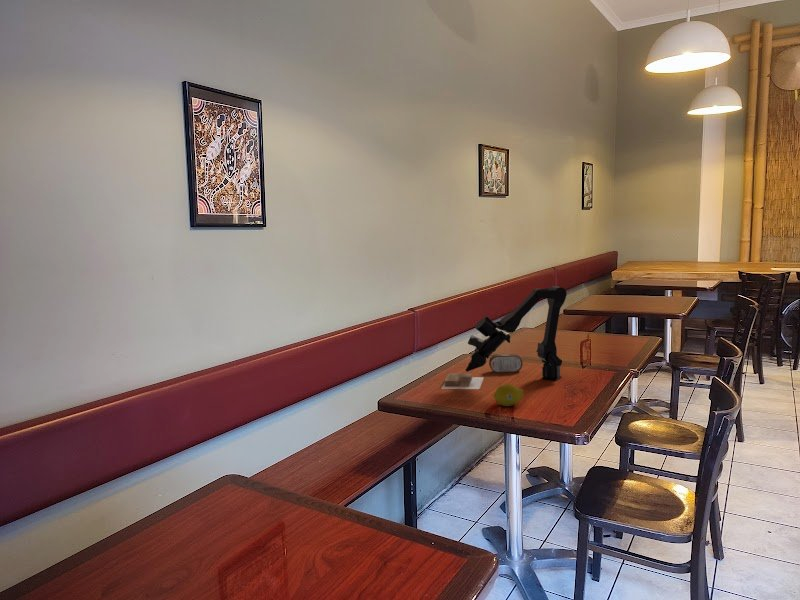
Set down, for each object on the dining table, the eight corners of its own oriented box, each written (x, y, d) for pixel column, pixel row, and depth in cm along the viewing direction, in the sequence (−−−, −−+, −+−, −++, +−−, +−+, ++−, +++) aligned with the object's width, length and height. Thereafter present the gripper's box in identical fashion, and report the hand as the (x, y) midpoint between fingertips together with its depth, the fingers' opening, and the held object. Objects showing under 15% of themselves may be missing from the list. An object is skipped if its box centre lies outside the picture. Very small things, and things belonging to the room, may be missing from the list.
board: (471, 373, 251) (449, 373, 254) (468, 381, 240) (444, 380, 242) (472, 379, 252) (449, 378, 254) (468, 386, 240) (444, 386, 243)
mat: (483, 378, 253) (483, 377, 253) (479, 389, 236) (479, 389, 236) (447, 377, 257) (447, 376, 257) (440, 389, 240) (440, 388, 240)
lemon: (492, 408, 212) (491, 387, 211) (495, 401, 219) (494, 381, 218) (522, 409, 209) (521, 388, 208) (524, 403, 216) (523, 382, 215)
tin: (522, 371, 262) (522, 352, 261) (523, 372, 259) (522, 354, 258) (489, 371, 264) (488, 353, 263) (489, 373, 260) (488, 355, 259)
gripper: (481, 325, 251) (456, 350, 255) (476, 333, 233) (450, 360, 237) (500, 343, 250) (475, 367, 254) (496, 352, 232) (470, 379, 236)
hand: (467, 368), depth 245 cm, fingers open, 9 cm apart
